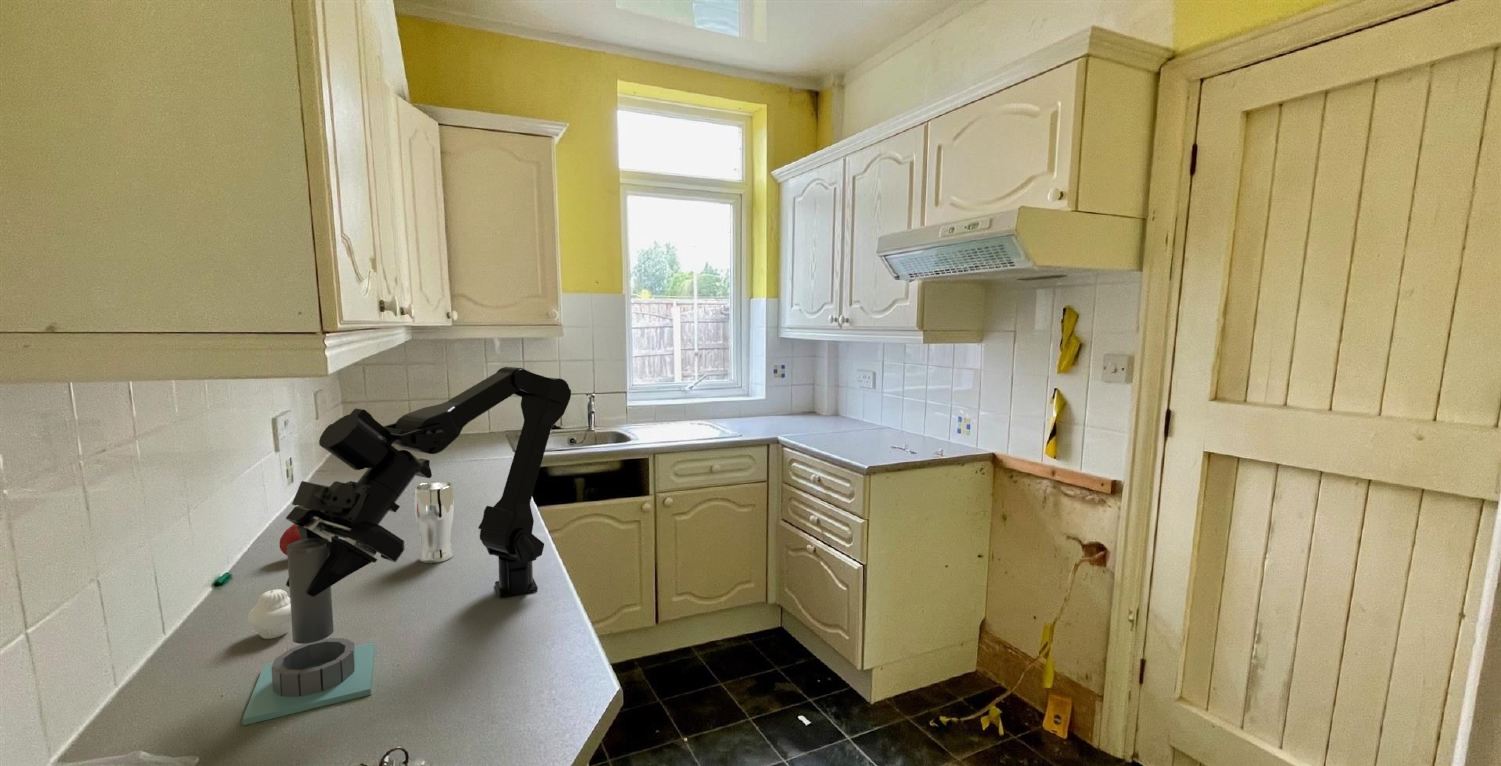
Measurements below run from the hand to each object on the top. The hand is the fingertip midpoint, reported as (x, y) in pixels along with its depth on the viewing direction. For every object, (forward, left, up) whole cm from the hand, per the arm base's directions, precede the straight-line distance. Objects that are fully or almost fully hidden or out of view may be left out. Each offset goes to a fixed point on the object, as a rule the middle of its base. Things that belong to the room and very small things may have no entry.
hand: (299, 591), depth 79 cm
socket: (-1, +1, -13) cm, 13 cm away
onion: (-52, -7, -13) cm, 54 cm away
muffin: (-19, -6, -13) cm, 24 cm away
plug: (-1, +1, -7) cm, 7 cm away
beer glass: (-41, +17, -13) cm, 46 cm away
